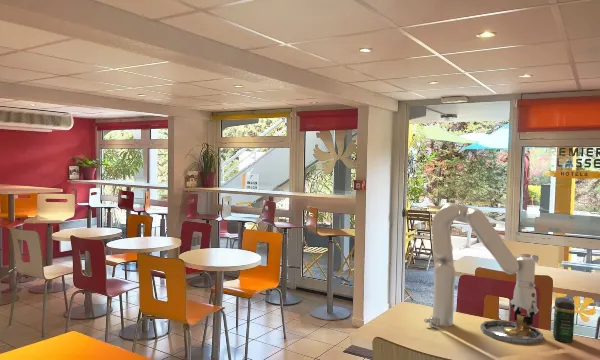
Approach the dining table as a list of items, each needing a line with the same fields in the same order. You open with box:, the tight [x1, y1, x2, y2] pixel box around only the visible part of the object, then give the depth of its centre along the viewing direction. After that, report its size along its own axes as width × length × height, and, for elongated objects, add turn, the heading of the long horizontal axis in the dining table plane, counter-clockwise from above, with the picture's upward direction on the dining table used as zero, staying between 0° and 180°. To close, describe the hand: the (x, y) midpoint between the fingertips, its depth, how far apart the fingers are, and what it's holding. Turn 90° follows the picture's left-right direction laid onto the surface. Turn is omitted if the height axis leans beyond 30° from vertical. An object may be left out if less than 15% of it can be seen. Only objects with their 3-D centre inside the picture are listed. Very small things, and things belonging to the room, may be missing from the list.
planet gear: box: [515, 313, 531, 335], centre depth 216 cm, size 7×7×8 cm
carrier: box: [480, 319, 544, 345], centre depth 214 cm, size 25×25×6 cm
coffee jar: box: [552, 297, 576, 343], centre depth 213 cm, size 10×8×19 cm
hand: (523, 321), depth 216 cm, fingers open, 6 cm apart
